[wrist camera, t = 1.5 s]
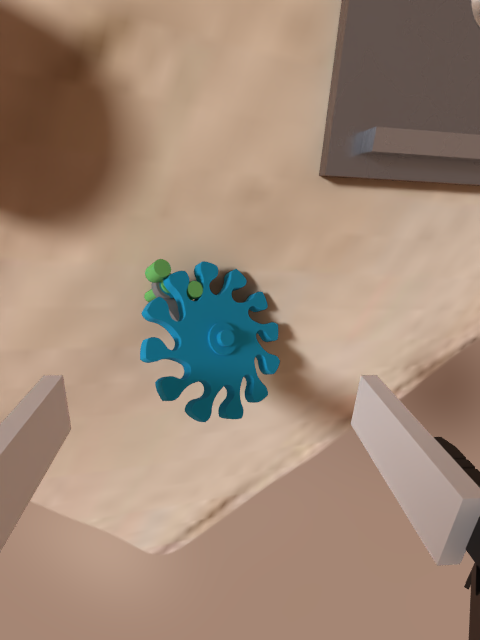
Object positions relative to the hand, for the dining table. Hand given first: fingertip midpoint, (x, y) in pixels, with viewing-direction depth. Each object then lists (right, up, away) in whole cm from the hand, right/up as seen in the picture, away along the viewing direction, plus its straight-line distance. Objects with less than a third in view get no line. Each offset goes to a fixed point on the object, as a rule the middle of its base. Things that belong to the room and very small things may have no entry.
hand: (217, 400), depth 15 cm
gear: (-1, +4, +10) cm, 11 cm away
